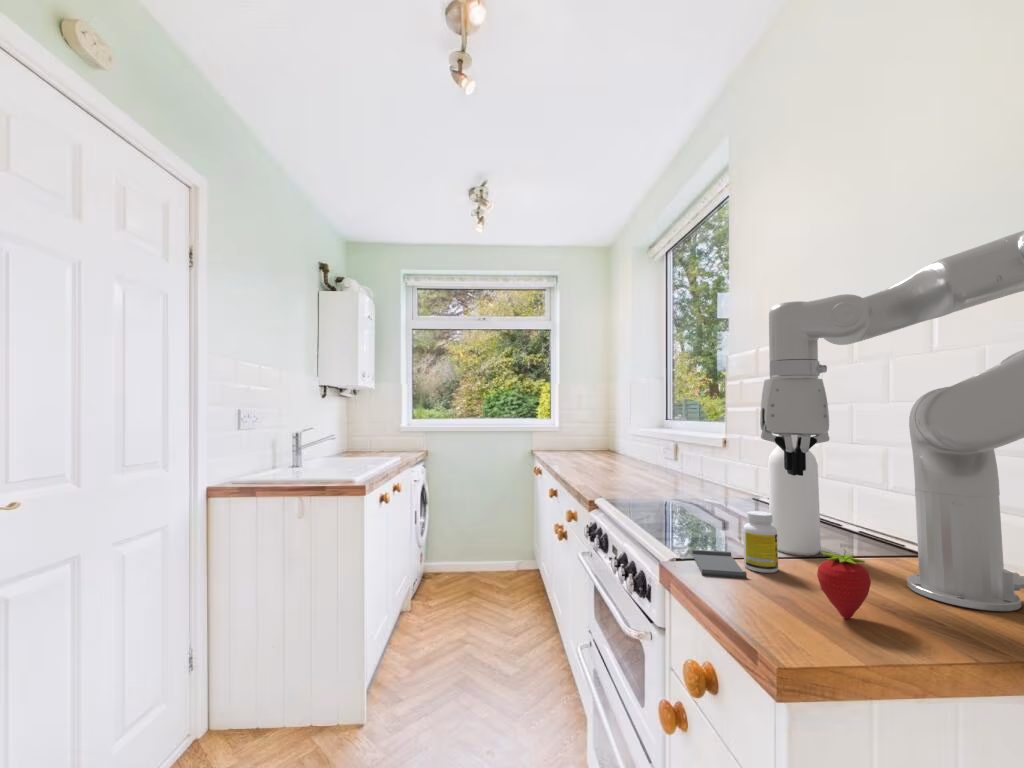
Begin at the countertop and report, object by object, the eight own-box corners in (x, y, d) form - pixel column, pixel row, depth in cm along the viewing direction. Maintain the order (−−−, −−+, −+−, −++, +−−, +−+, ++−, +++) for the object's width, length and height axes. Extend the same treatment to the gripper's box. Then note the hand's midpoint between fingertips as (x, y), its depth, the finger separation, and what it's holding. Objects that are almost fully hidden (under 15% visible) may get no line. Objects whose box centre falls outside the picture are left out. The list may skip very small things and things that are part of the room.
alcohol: (773, 553, 94) (768, 401, 96) (768, 542, 102) (763, 402, 104) (825, 558, 91) (819, 400, 92) (816, 546, 99) (810, 401, 100)
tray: (730, 557, 92) (730, 551, 92) (746, 578, 80) (746, 572, 80) (692, 554, 93) (692, 549, 93) (702, 575, 82) (702, 569, 82)
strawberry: (810, 618, 65) (807, 543, 65) (830, 604, 69) (827, 534, 70) (862, 633, 60) (859, 553, 61) (880, 617, 65) (876, 542, 65)
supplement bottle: (783, 574, 82) (781, 516, 82) (749, 572, 83) (747, 515, 83) (772, 564, 87) (770, 510, 88) (740, 563, 88) (739, 509, 89)
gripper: (831, 373, 88) (833, 473, 87) (743, 373, 91) (744, 470, 90) (850, 369, 80) (852, 479, 79) (753, 370, 84) (755, 475, 83)
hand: (795, 474), depth 85 cm, fingers closed
